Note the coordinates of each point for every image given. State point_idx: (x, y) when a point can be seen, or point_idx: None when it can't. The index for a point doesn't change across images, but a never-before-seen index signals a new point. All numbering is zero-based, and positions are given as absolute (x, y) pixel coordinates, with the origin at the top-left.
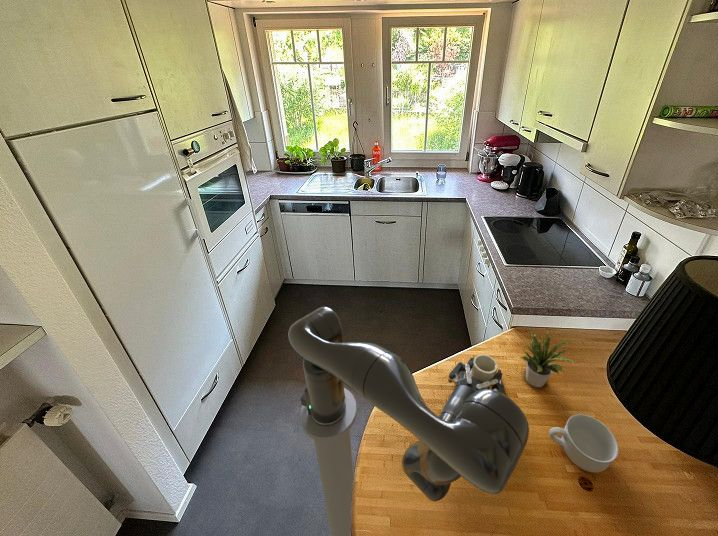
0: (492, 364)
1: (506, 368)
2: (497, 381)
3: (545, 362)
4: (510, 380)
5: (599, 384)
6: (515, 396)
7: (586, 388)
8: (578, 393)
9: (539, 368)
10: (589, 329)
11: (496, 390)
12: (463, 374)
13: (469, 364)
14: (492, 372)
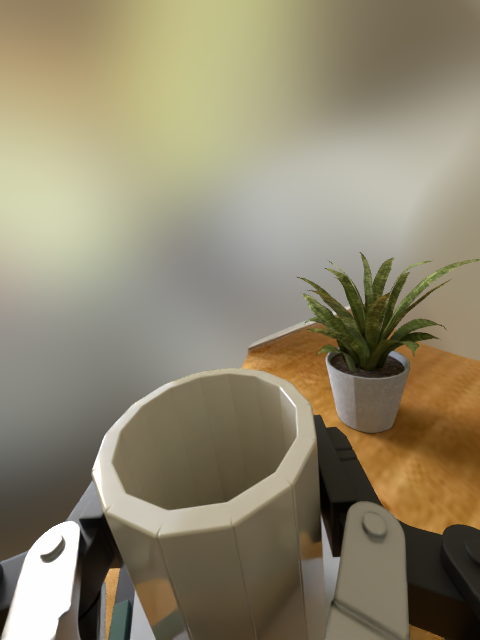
0: (255, 410)
1: None
2: (389, 524)
3: (393, 322)
4: None
5: (449, 355)
6: None
7: (449, 371)
8: (457, 387)
9: (402, 342)
10: None
11: (329, 554)
12: None
13: (81, 517)
14: (306, 458)
